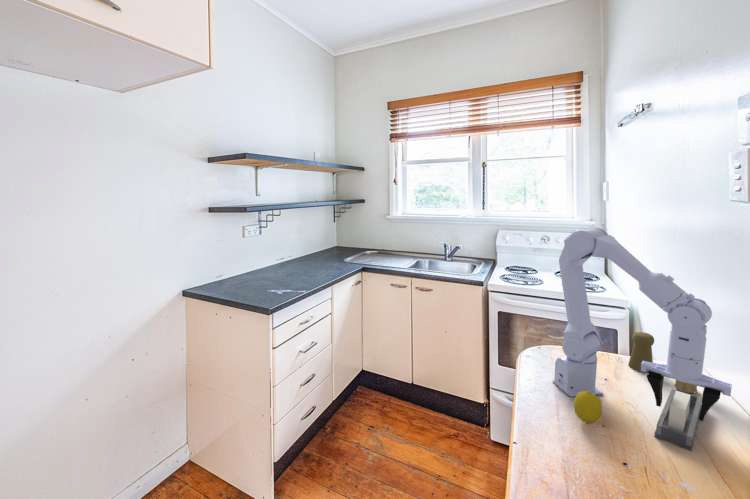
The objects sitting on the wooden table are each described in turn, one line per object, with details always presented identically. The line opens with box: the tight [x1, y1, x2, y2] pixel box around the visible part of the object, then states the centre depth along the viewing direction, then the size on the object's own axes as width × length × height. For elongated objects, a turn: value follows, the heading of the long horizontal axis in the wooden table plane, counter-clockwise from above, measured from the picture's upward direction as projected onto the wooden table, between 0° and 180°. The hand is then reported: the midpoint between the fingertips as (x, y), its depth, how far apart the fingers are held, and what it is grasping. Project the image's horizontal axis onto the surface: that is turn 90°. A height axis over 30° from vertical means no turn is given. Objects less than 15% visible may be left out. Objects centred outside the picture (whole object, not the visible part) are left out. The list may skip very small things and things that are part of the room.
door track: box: [653, 388, 702, 452], centre depth 77 cm, size 20×6×3 cm, turn 131°
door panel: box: [668, 390, 691, 432], centre depth 74 cm, size 8×2×6 cm, turn 131°
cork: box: [627, 331, 655, 374], centre depth 101 cm, size 6×6×11 cm
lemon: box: [573, 391, 603, 424], centre depth 77 cm, size 6×6×8 cm
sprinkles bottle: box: [674, 380, 698, 394], centre depth 89 cm, size 5×5×13 cm
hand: (679, 411), depth 74 cm, fingers open, 6 cm apart
